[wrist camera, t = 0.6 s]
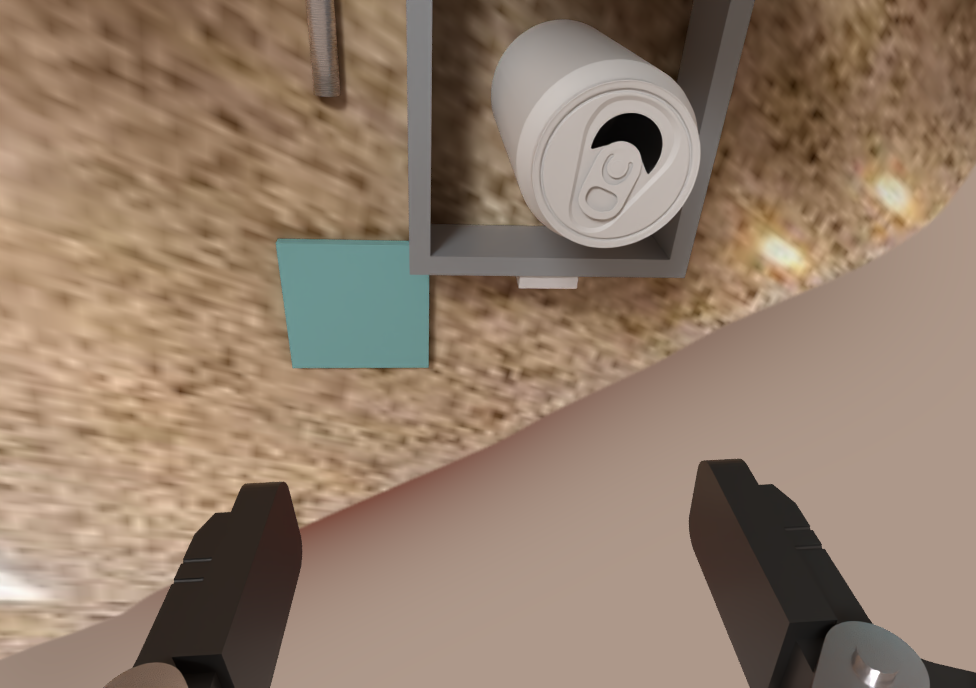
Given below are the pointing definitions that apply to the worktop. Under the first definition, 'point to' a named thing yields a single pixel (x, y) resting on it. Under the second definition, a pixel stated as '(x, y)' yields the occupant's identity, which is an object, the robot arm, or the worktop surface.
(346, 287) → the pad
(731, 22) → the case
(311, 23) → the rod
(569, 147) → the beverage can
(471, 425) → the worktop surface
